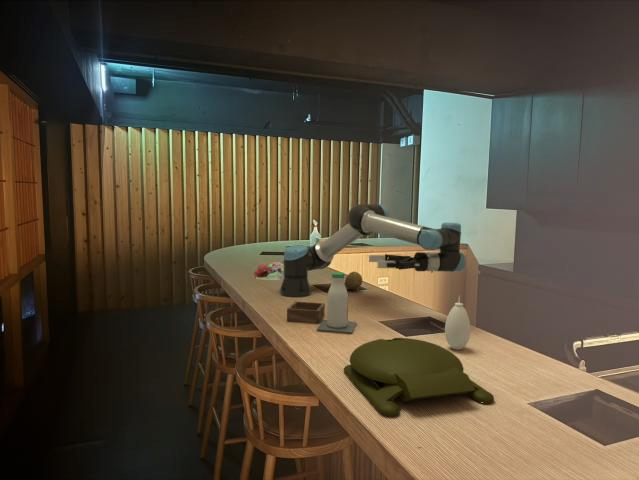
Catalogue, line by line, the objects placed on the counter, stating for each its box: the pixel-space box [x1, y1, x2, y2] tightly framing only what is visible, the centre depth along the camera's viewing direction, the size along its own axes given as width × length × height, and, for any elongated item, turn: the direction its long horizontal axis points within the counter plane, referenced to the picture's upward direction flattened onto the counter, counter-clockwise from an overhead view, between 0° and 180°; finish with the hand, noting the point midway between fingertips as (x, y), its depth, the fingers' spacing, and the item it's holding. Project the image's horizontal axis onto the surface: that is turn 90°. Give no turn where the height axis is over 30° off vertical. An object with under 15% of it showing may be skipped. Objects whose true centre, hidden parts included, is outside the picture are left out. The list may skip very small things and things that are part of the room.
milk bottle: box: [326, 271, 349, 328], centre depth 171 cm, size 8×8×20 cm
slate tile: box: [316, 319, 357, 335], centre depth 172 cm, size 13×13×1 cm
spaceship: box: [343, 337, 495, 418], centre depth 124 cm, size 35×31×10 cm
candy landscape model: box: [252, 260, 284, 282], centre depth 270 cm, size 25×24×9 cm
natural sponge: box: [344, 271, 363, 292], centre depth 235 cm, size 9×9×10 cm
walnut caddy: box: [286, 300, 326, 325], centre depth 183 cm, size 12×12×5 cm
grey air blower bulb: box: [444, 295, 471, 351], centre depth 150 cm, size 8×8×18 cm
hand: (373, 261), depth 178 cm, fingers open, 13 cm apart
